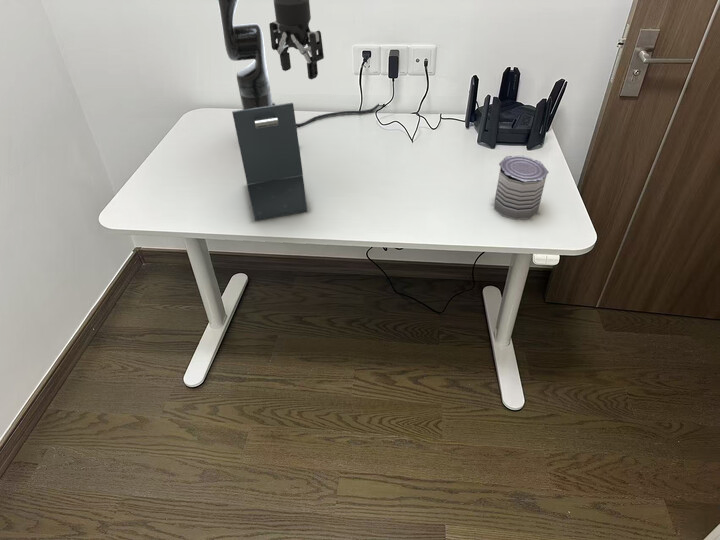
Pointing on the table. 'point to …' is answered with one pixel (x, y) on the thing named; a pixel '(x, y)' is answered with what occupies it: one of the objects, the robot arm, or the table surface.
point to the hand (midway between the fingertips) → (299, 73)
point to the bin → (277, 197)
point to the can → (519, 187)
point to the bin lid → (268, 142)
